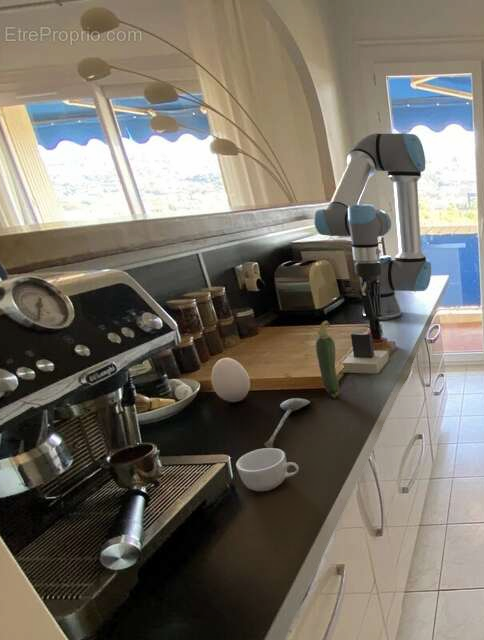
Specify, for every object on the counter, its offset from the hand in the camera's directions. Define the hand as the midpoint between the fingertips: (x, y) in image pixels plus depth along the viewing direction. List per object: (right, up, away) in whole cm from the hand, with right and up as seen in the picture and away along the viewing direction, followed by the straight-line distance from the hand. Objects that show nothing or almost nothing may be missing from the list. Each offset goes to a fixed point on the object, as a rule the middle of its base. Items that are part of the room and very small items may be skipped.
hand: (376, 337), depth 142 cm
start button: (0, -2, +1) cm, 2 cm away
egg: (-27, -20, -30) cm, 45 cm away
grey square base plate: (-1, -10, -8) cm, 13 cm away
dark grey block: (-1, -7, -10) cm, 12 cm away
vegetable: (-3, -19, -27) cm, 33 cm away
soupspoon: (-9, -25, -40) cm, 49 cm away
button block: (0, -4, +2) cm, 5 cm away
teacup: (-2, -35, -61) cm, 70 cm away
